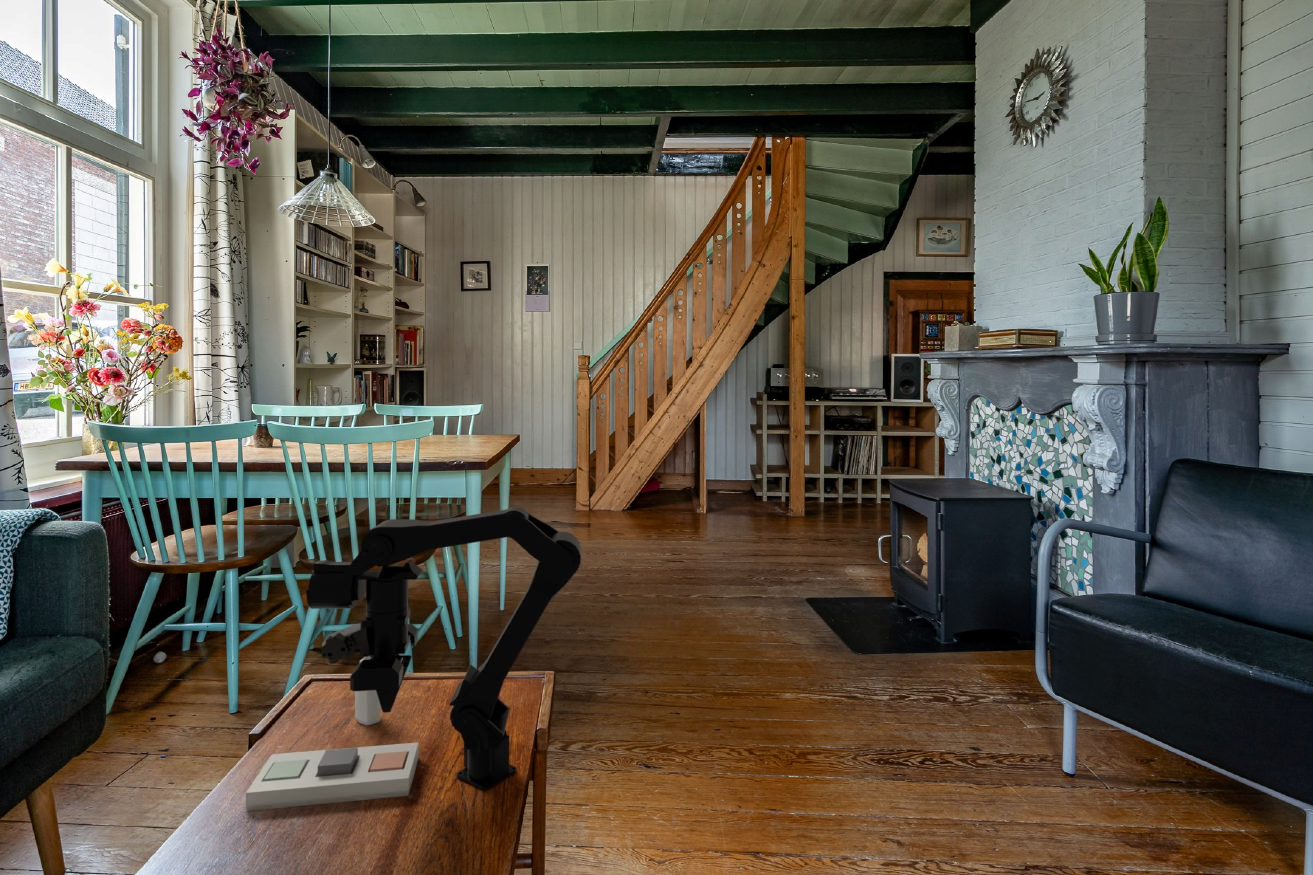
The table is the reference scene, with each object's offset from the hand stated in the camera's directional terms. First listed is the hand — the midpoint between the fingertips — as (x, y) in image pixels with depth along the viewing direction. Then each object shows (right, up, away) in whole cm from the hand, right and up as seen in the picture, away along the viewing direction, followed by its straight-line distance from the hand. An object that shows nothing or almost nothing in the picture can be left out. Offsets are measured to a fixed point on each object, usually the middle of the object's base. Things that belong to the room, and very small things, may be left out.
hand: (387, 711), depth 100 cm
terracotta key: (0, -9, +1) cm, 10 cm away
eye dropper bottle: (-11, -9, +19) cm, 23 cm away
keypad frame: (-7, -10, -1) cm, 12 cm away
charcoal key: (-7, -8, -1) cm, 11 cm away
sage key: (-14, -9, -2) cm, 17 cm away
